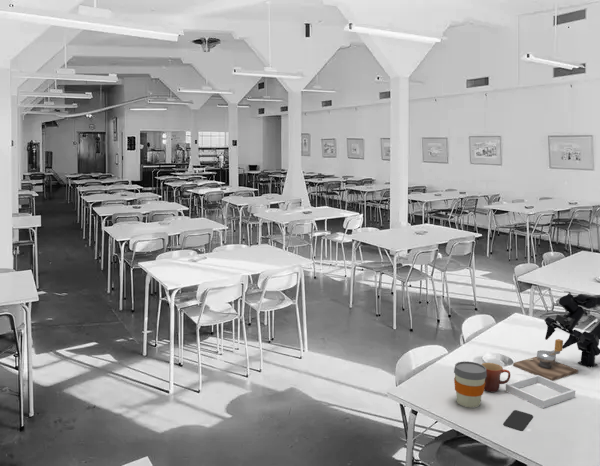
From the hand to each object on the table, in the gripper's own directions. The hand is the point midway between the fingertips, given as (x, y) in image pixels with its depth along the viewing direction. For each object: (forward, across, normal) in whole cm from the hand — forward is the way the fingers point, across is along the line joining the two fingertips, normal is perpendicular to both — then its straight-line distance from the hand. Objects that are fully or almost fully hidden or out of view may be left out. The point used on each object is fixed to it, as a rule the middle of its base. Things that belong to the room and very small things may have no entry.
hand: (554, 343), depth 255 cm
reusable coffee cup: (+48, +10, -41) cm, 63 cm away
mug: (+36, +6, -26) cm, 45 cm away
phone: (+42, +29, -38) cm, 64 cm away
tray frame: (+26, +17, -16) cm, 35 cm away
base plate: (+12, 0, +6) cm, 13 cm away
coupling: (+6, 0, +5) cm, 8 cm away
